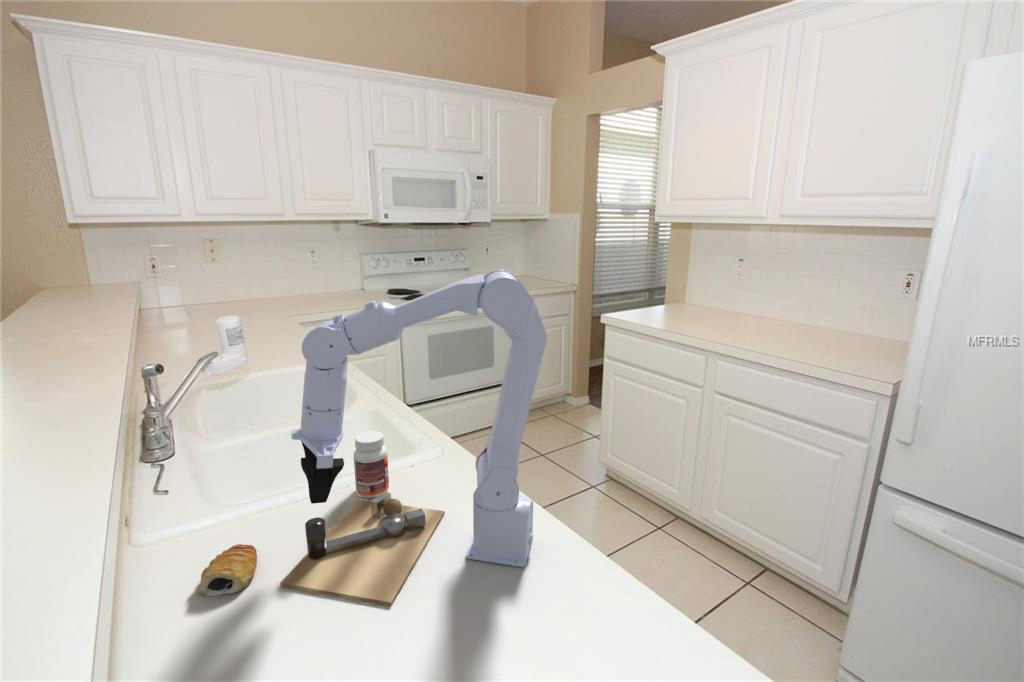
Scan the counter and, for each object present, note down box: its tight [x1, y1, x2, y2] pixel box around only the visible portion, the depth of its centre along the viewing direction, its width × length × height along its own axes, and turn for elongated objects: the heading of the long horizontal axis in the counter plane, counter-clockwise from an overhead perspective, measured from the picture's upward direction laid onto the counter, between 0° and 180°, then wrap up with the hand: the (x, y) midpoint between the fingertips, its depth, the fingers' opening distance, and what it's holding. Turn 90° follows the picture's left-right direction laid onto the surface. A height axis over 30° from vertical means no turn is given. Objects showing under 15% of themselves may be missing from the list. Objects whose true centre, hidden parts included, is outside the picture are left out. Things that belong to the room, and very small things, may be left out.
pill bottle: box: [353, 430, 390, 499], centre depth 95 cm, size 6×6×11 cm
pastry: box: [197, 543, 258, 597], centre depth 74 cm, size 9×7×4 cm
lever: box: [304, 509, 426, 559], centre depth 80 cm, size 18×4×5 cm, turn 118°
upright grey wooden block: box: [370, 491, 392, 518], centre depth 88 cm, size 4×1×3 cm, turn 153°
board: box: [280, 498, 445, 607], centre depth 80 cm, size 17×22×1 cm
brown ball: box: [383, 498, 403, 516], centre depth 87 cm, size 3×3×3 cm
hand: (316, 487), depth 76 cm, fingers open, 7 cm apart
